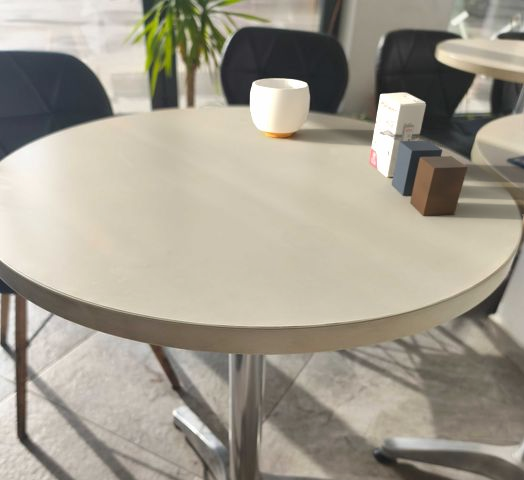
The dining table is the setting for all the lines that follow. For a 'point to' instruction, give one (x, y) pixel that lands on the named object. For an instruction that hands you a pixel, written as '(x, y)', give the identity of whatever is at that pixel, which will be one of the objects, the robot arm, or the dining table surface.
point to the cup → (279, 105)
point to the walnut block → (438, 185)
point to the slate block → (411, 163)
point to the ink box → (395, 128)
